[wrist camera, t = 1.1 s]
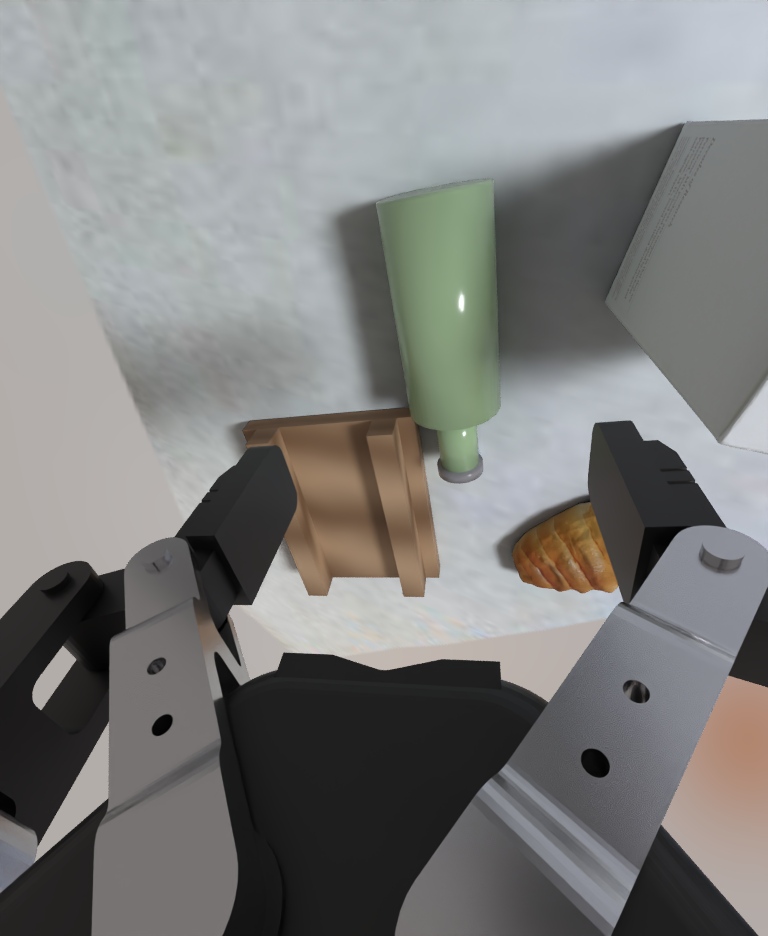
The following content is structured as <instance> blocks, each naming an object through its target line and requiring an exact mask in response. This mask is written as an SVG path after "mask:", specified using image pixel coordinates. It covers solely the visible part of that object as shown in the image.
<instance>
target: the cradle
mask: <svg viewBox="0 0 768 936" xmlns="http://www.w3.org/2000/svg"><path fill="white" fill-rule="evenodd" d="M242 431H243V433H244V435H245V438H246V440H247V444H246V448H247V449H248V448H250V447H256V446H270V445H277V446H279V447H280V449H281V450H282V452H283V455H284V458H285V460H286V463H287V466H288V469H289V471H290V474H291V477H292V479H293V482H294V485H295V488H296V491H297V508H296V512H295V514H294V516H293V518H292V520H291V522H290V524H289V527H288V529H287V531H286V533H285V535H284V538H285V540H286V542H287V545H288V547H289V550H290V552H291V554H292V557H293V559H294V561H295V564H296V566H297V568H298V571H299V573H300V576H301V578H302V580H303V583H304V585H305V587H306V590H307V592H308V595H313V596H327V594H328V591H329V588H330V585H331V582H332V578H333V577H399V578H400V582H401V586H402V591H403V595H404V597H424V592H425V582H426V577H432V578H439V572H440V562H439V556H438V550H437V543H436V537H435V530H434V524H433V517H432V511H431V504H430V498H429V491H428V485H427V478H426V472H425V465H424V459H423V452H422V446H421V439H420V433H419V426H418V424H417V423H415V422H414V421H413V419H412V418H411V416H410V410H409V407H407V408H395V409H383V410H372V411H360V412H348V413H336V414H325V415H313V416H301V417H289V418H277V419H266V420H254V421H249V423H248V424H247V425H246V426H245V428H244V429H243V430H242Z"/></svg>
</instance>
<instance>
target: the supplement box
mask: <svg viewBox="0 0 768 936" xmlns="http://www.w3.org/2000/svg"><path fill="white" fill-rule="evenodd" d="M605 303H606V305H607V306H608V307H609V309H610V310H611V311H612V312H613V314H614V315H615V316H616V317H617V319H618V320H619V321H620V322H621V324H622V325H623V326H624V327H625V328H626V330H627V331H628V332H629V333H630V334H631V336H632V337H633V338H634V339H635V340H636V342H637V343H638V344H639V345H640V347H641V348H642V349H643V350H644V351H645V353H646V354H647V355H648V356H649V357H650V359H651V360H652V361H653V362H654V363H655V365H656V366H657V367H658V368H659V370H660V371H661V372H662V373H663V374H664V376H665V377H666V378H667V379H668V381H669V382H670V383H671V384H672V385H673V387H674V388H675V389H676V390H677V391H678V393H679V394H680V395H681V396H682V397H683V399H684V400H685V401H686V402H687V404H688V405H689V406H690V407H691V409H692V410H693V411H694V412H695V413H696V415H697V416H698V417H699V418H700V420H701V421H702V422H703V423H704V425H705V426H706V427H707V428H708V429H709V431H710V432H711V433H712V434H713V436H714V437H715V438H716V440H717V441H718V443H720V444H722V445H726V446H730V447H735V448H740V449H746V450H751V451H755V452H760V453H765V454H768V119H759V120H733V121H696V122H694V121H687V122H686V123H685V124H684V126H683V128H682V131H681V133H680V135H679V137H678V139H677V141H676V144H675V146H674V148H673V150H672V152H671V155H670V157H669V159H668V161H667V163H666V166H665V168H664V170H663V172H662V175H661V177H660V179H659V181H658V184H657V186H656V188H655V190H654V193H653V195H652V197H651V199H650V201H649V203H648V206H647V208H646V210H645V213H644V215H643V217H642V219H641V221H640V224H639V226H638V228H637V230H636V232H635V235H634V237H633V239H632V242H631V244H630V246H629V248H628V251H627V253H626V255H625V257H624V259H623V262H622V264H621V266H620V269H619V271H618V274H617V275H616V277H615V279H614V282H613V284H612V287H611V289H610V291H609V294H608V296H607V298H606V302H605Z"/></svg>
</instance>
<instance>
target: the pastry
mask: <svg viewBox="0 0 768 936" xmlns="http://www.w3.org/2000/svg"><path fill="white" fill-rule="evenodd" d="M512 556H513V559H514V564H515V566H516V568H517V570H518V573H519V576H520V578H521V580H522V581H523V582H526V583H529V584H533V585H535V586H537V587H541V588H549V589H555V590H557V591H560V592H561V591H566V590H569V589H574V590H576V591H578V592H580V593H586V592H588V591H590V590H593V589H595V590H601V591H605V592H608V593H612V592H613V591H614V590H615V589H616V588H617V587H618V583H617V580H616V577H615V574H614V571H613V568H612V565H611V562H610V559H609V556H608V553H607V550H606V547H605V544H604V541H603V538H602V535H601V532H600V529H599V526H598V523H597V520H596V517H595V514H594V511H593V508H592V505H591V502H588V503H580V504H577V505H575V506H573V507H571V508H568V509H566V510H565V511H563V512H562V513H559V514H557V515H554V516H553V517H551V518H550V519H548V520H546V521H544V522H542V523H540V524H538V525H537V526H535V527H534V528H532V529H531V530H529V531H528V532H526V533H525V534H524V535H523V536H522V538H521V539H520V540H519V541H518V542H517V543H516V544H515V546H514V549H513V553H512Z"/></svg>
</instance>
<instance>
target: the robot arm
mask: <svg viewBox="0 0 768 936" xmlns="http://www.w3.org/2000/svg"><path fill="white" fill-rule="evenodd" d="M588 491H589V498H590V502H591V505H592V508H593V511H594V514H595V517H596V520H597V523H598V526H599V529H600V532H601V535H602V538H603V541H604V544H605V547H606V550H607V553H608V556H609V559H610V562H611V565H612V568H613V571H614V574H615V577H616V580H617V583H618V586H619V589H620V592H621V595H622V598H623V601H624V602H621V603H619V604H618V605H617V606H616V607H615V608H614V610H613V611H612V612H611V614H610V615H609V617H608V618H607V620H606V621H605V622H604V624H603V625H602V627H601V628H600V630H599V631H598V633H597V634H596V636H595V637H594V638H593V640H592V641H591V643H590V644H589V646H588V647H587V649H586V650H585V651H584V653H583V654H582V656H581V657H580V659H579V660H578V661H577V663H576V664H575V666H574V667H573V669H572V670H571V672H570V673H569V674H568V676H567V677H566V679H565V680H564V682H563V683H562V684H561V686H560V687H559V689H558V690H557V692H556V693H555V695H554V696H553V697H552V699H551V700H550V702H549V703H548V702H547V701H546V700H544V699H543V698H541V697H539V696H538V695H536V694H534V693H532V692H531V691H529V690H527V689H525V688H523V687H520V686H518V685H516V684H513V683H510V682H507V681H504V680H501V673H500V662H494V661H470V660H446V659H441V660H437V661H431V662H427V663H422V664H417V665H412V666H407V667H402V668H397V669H392V670H378V669H375V668H372V667H369V666H366V665H362V664H359V663H356V662H353V661H350V660H347V659H344V658H341V657H338V656H335V655H327V654H303V653H283V656H282V659H281V661H280V664H279V667H278V670H276V671H273V672H269V673H266V674H263V675H261V676H259V677H256V678H254V679H252V680H250V677H249V674H248V671H247V668H246V664H245V661H244V657H243V654H242V651H241V647H240V644H239V641H238V637H237V634H236V631H235V627H234V624H233V621H232V619H231V617H230V615H229V611H230V609H231V607H232V605H252V603H253V601H254V599H255V597H256V595H257V593H258V591H259V589H260V586H261V584H262V582H263V580H264V578H265V576H266V574H267V571H268V569H269V567H270V565H271V563H272V561H273V559H274V557H275V554H276V552H277V550H278V548H279V546H280V544H281V542H282V539H283V537H284V535H285V533H286V531H287V529H288V527H289V524H290V522H291V520H292V518H293V516H294V514H295V512H296V508H297V491H296V488H295V485H294V482H293V479H292V477H291V474H290V471H289V469H288V466H287V463H286V460H285V458H284V455H283V452H282V450H281V449H280V447H279V446H277V445H270V446H256V447H250V448H248V449H247V451H246V452H245V453H244V455H243V456H242V458H241V459H240V460H239V462H238V463H237V465H236V466H233V467H231V468H230V469H229V470H228V471H226V472H225V473H224V474H222V475H221V476H220V477H219V478H218V479H217V480H216V482H215V483H214V484H213V486H212V487H211V488H210V492H207V494H206V495H205V497H204V498H203V499H202V503H199V505H198V506H197V507H196V509H195V510H194V511H193V513H192V514H191V515H190V517H189V518H188V519H187V521H186V522H185V523H184V525H183V526H182V528H181V529H180V530H179V531H178V533H177V534H176V536H175V537H173V538H165V539H162V540H158V541H156V542H154V543H151V544H150V545H148V546H146V547H145V548H143V549H142V550H140V551H139V552H138V553H136V554H135V555H134V556H133V557H132V558H131V560H130V561H129V562H128V564H127V566H126V568H125V569H122V570H118V571H114V572H111V573H107V574H103V575H99V576H98V575H97V573H96V572H95V571H94V570H93V569H92V567H91V566H90V565H89V563H87V562H84V561H75V562H70V563H66V564H63V565H61V566H59V567H57V568H55V569H53V570H51V571H49V572H48V573H46V574H45V575H43V576H42V577H40V578H39V579H38V580H37V581H36V582H35V583H33V584H32V586H31V587H30V588H29V589H28V590H27V591H26V592H25V593H24V594H23V595H22V596H21V597H20V598H19V600H18V601H17V602H16V603H15V604H14V605H13V606H12V607H11V608H10V609H9V610H8V611H7V613H6V614H5V615H4V616H3V617H2V618H1V619H0V936H758V935H757V934H756V932H755V931H754V930H753V929H752V928H751V927H750V926H749V924H747V922H746V921H745V920H744V919H743V918H742V917H741V915H740V914H739V913H738V912H737V911H736V910H735V909H734V907H733V906H732V905H731V904H730V903H729V902H728V901H727V900H726V898H725V897H724V896H723V895H722V894H721V893H720V891H719V890H718V889H717V888H716V887H715V886H714V885H713V883H712V882H711V881H710V880H709V879H708V878H707V877H706V875H704V873H703V872H702V871H701V870H700V869H699V867H698V866H697V865H696V864H695V863H694V862H693V861H692V859H691V858H690V857H689V856H688V855H687V854H686V853H685V851H684V850H683V849H682V848H681V847H680V846H679V845H678V843H677V842H676V841H675V840H674V839H673V838H672V837H671V836H670V834H669V833H668V832H667V831H666V830H665V829H664V828H663V826H662V825H661V823H662V821H663V819H664V816H665V814H666V812H667V810H668V808H669V805H670V803H671V801H672V799H673V796H674V794H675V792H676V790H677V787H678V785H679V783H680V781H681V779H682V776H683V774H684V772H685V770H686V767H687V765H688V763H689V761H690V759H691V756H692V754H693V752H694V749H695V748H696V745H697V743H698V741H699V738H700V736H701V734H702V732H703V730H704V728H705V725H706V723H707V721H708V719H709V716H710V714H711V712H712V710H713V707H714V705H715V703H716V701H717V699H718V696H719V694H720V692H721V690H722V688H723V685H724V683H725V681H726V679H727V676H728V675H729V676H732V677H735V678H739V679H742V680H745V681H749V682H752V683H755V684H759V685H762V686H765V687H768V551H767V550H766V549H765V548H764V547H763V546H762V545H761V544H760V543H758V542H757V541H755V540H754V539H752V538H751V537H749V536H747V535H745V534H743V533H740V532H737V531H735V530H731V529H728V528H726V526H725V525H724V523H723V522H722V520H721V519H720V517H719V516H718V514H717V513H716V511H715V510H714V508H713V507H712V505H711V504H710V502H709V501H708V499H707V498H706V496H705V494H704V493H703V491H702V490H701V488H700V487H699V485H698V484H697V483H695V479H694V478H693V476H692V475H691V473H690V472H689V471H687V467H686V466H685V464H684V463H683V461H682V460H681V458H680V457H679V455H678V454H677V452H675V451H674V450H672V449H671V448H669V447H668V446H666V445H664V444H663V443H661V442H660V441H658V440H652V441H643V439H642V437H641V436H640V434H639V432H638V431H637V429H636V427H635V425H634V424H633V422H632V421H630V420H629V421H615V422H601V423H595V424H594V427H593V432H592V442H591V452H590V462H589V472H588ZM62 646H64V647H65V648H66V649H67V650H68V651H69V652H70V653H71V654H72V655H73V656H74V657H75V658H76V659H77V660H76V662H75V663H74V664H73V666H72V667H71V669H70V670H69V672H68V673H67V674H66V676H65V677H64V679H63V680H62V682H61V683H60V685H59V686H58V687H57V689H56V690H55V692H54V693H53V694H52V696H51V697H50V699H49V700H48V702H47V703H46V705H45V706H44V707H43V709H42V710H40V709H38V708H37V707H36V706H35V704H34V703H33V700H32V691H33V688H34V685H35V683H36V681H37V679H38V678H39V677H40V675H41V674H42V673H43V671H44V670H45V668H46V667H47V666H48V664H49V663H50V662H51V660H52V659H53V658H54V656H55V655H56V653H57V652H58V651H59V650H60V648H61V647H62ZM108 722H109V798H108V799H107V800H106V801H105V802H104V803H102V804H101V805H100V806H99V807H98V808H97V809H96V810H94V811H93V812H92V813H91V814H90V815H89V816H88V817H86V818H85V819H84V820H83V821H82V822H81V823H80V824H78V825H77V826H76V827H75V828H74V829H73V830H72V831H70V832H69V833H68V834H67V835H66V836H65V837H64V838H62V839H61V840H60V841H59V842H58V843H57V844H56V845H55V846H53V847H52V848H51V849H50V850H49V851H47V852H46V853H45V854H44V855H43V856H42V857H41V858H39V859H38V860H37V861H36V862H35V863H34V861H35V857H36V852H37V847H38V845H39V843H40V841H41V840H42V838H43V836H44V834H45V833H46V831H47V829H48V827H49V826H50V824H51V822H52V820H53V818H54V816H55V815H56V813H57V811H58V810H59V808H60V806H61V805H62V803H63V801H64V799H65V798H66V796H67V794H68V792H69V791H70V789H71V787H72V785H73V783H74V782H75V780H76V778H77V776H78V775H79V773H80V771H81V769H82V767H83V766H84V764H85V762H86V761H87V759H88V757H89V755H90V753H91V752H92V750H93V748H94V746H95V745H96V743H97V741H98V740H99V738H100V736H101V734H102V732H103V731H104V729H105V727H106V725H107V724H108ZM33 863H34V864H33Z"/></svg>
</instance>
